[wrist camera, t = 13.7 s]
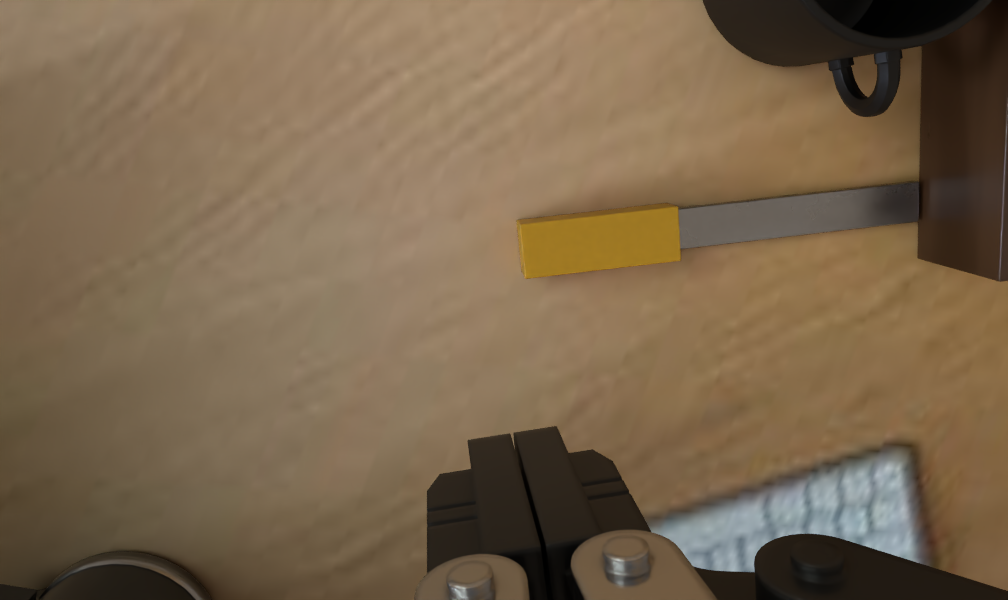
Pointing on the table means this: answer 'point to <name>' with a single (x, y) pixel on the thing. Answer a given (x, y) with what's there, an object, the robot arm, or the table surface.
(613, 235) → the letter opener
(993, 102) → the backstop
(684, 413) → the table surface
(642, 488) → the table surface
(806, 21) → the mug
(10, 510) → the table surface
